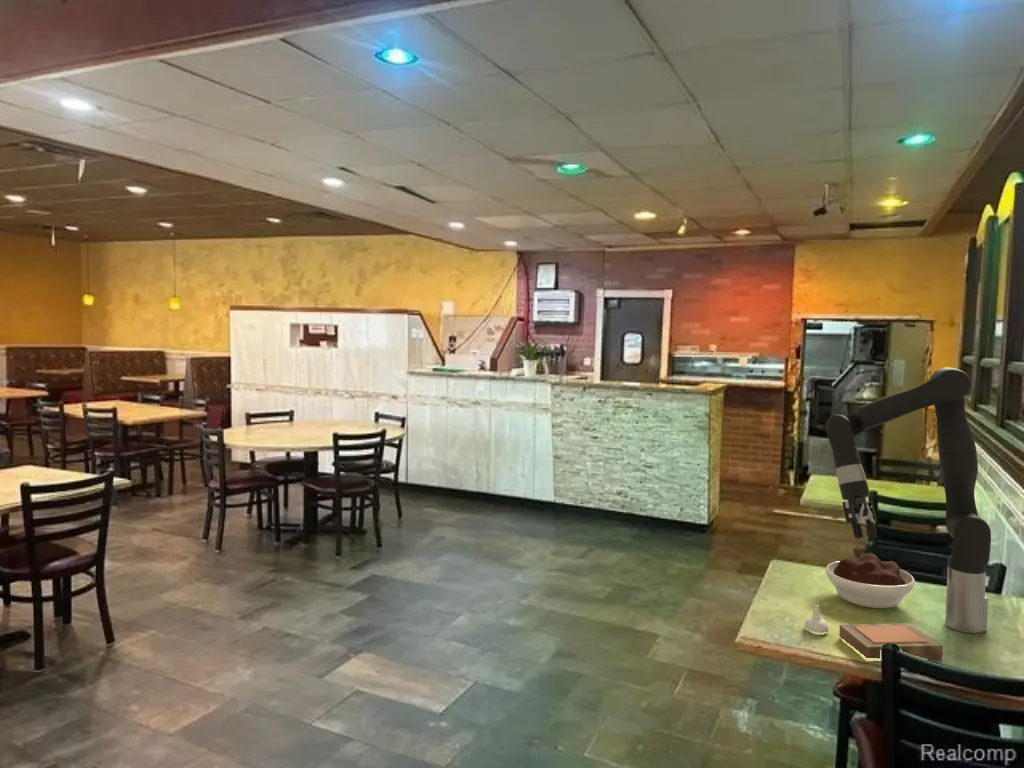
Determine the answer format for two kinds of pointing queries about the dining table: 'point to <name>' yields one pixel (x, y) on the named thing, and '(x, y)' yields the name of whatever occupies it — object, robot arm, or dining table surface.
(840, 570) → the bowl of brown food
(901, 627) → the mat
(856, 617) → the dining table surface
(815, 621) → the garlic bulb
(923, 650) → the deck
